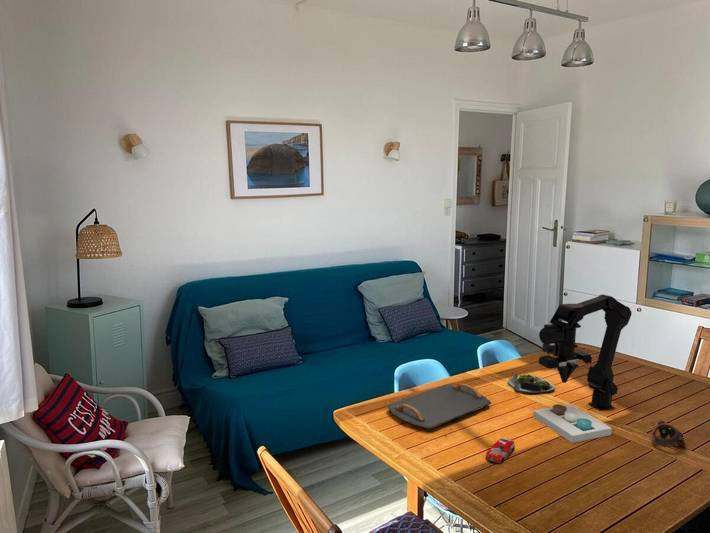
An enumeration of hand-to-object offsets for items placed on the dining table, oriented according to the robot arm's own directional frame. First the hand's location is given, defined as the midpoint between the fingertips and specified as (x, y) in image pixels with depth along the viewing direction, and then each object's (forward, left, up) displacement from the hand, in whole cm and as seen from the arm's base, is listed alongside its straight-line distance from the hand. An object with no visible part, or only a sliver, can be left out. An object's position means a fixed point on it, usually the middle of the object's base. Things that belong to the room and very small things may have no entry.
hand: (563, 382), depth 190 cm
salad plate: (-7, -27, -14) cm, 31 cm away
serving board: (+39, -20, -14) cm, 46 cm away
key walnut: (+2, +1, -12) cm, 12 cm away
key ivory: (+2, +7, -12) cm, 14 cm away
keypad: (+2, +7, -13) cm, 15 cm away
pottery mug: (-18, +28, -13) cm, 36 cm away
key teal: (+2, +13, -12) cm, 18 cm away
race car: (+36, +15, -14) cm, 41 cm away
